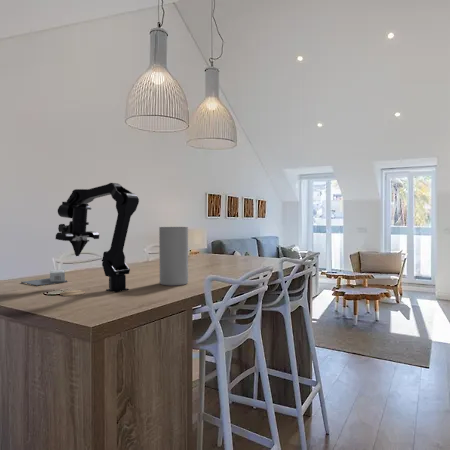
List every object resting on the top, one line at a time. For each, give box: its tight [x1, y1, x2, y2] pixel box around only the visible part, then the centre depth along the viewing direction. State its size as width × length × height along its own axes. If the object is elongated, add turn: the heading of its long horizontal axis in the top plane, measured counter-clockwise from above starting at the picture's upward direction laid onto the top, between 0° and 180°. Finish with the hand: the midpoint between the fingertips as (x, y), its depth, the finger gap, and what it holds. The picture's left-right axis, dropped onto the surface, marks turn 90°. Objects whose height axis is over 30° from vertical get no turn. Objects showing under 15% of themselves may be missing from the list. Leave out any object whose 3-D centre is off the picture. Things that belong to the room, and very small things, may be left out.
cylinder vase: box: [158, 226, 189, 287], centre depth 164 cm, size 12×12×25 cm
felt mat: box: [22, 277, 68, 287], centre depth 168 cm, size 14×14×1 cm
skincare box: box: [49, 269, 66, 282], centre depth 171 cm, size 6×4×12 cm
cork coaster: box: [59, 290, 86, 297], centre depth 142 cm, size 9×9×1 cm
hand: (77, 256), depth 158 cm, fingers closed
